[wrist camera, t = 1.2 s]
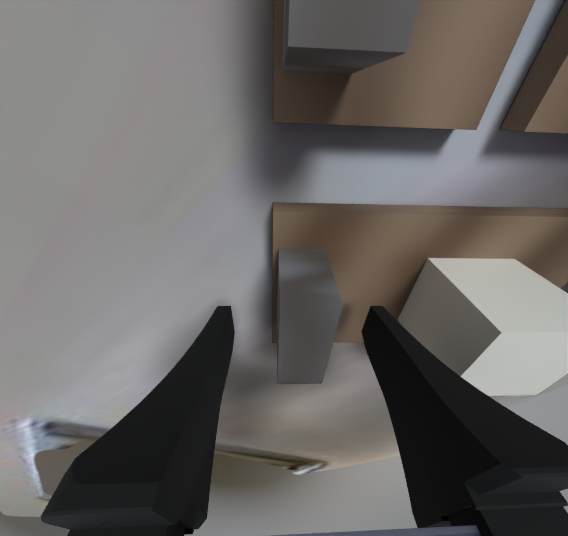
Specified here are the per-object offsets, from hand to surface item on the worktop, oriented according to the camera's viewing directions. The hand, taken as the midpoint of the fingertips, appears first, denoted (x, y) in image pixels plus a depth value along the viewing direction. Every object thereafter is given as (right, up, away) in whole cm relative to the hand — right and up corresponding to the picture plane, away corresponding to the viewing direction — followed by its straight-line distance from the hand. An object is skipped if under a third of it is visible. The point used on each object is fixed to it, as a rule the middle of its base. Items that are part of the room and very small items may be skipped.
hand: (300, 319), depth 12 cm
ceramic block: (+9, +1, +2) cm, 10 cm away
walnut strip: (+7, +2, +3) cm, 8 cm away
